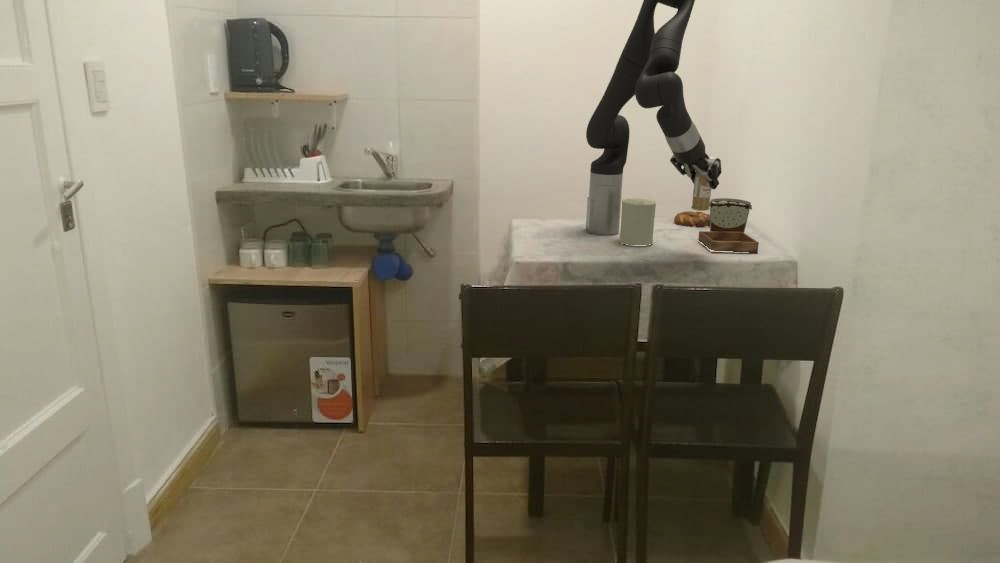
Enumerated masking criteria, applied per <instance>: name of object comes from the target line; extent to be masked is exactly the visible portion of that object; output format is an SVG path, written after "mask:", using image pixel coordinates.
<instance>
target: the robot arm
mask: <svg viewBox="0 0 1000 563" xmlns="http://www.w3.org/2000/svg"><path fill="white" fill-rule="evenodd" d="M695 1H696V0H642V4H641V7H640V10H639V13H638V15H637V18H636V21H635V22H634V24H633V27H632V30H631V32H630V33H629V36H628V39H627V40H626V43H625V44H624V47H623V49H622V52H621V54H620V56H619V58H618V61H617V62H616V63H617V64H616V66H615V68H614V71H613V74H612V76H611V78H610V80H609V82H608V84H607V87H606V89H605V91H604V93H603V95H602V97H601V99H600V101H599V103H598V104H597V106H596V108H595V109H594V111H593V113H592V115H591V117H590V119H589V121H588V124H587V128H586V132H585V135H586V136H585V137H586V142H587V144H588V145H589V146H590V147H591V148H593V149H596V150H603V152H602V153H601V155H600V156H599V157H598V158H596V159H594V160H592V162H590V174H589V190H588V196H587V198H586V199H587V200H586V201H587V202H586V220H585V230H586V231H587V233H588V234H594V235H605V236H606V235H608V236H609V235H616V234H619V233H620V223H621V209H622V191H623V178H624V177H623V176H624V167H625V166H626V163H627V159H628V151H629V150H628V149H629V142H630V124H629V122H628V119H627V118H626V117H625V116H623V115H620V112H621V111H622V109H623V107H624V106H625V105H626V104H627V103H628V102H629V101H630V100H631V99H633V97H635V100H636V102H637V103H638V105H639V106H640V107H641V108H643V109H652V108H659V109H658V111H657V112H656V115H655V116H656V121H657V123H658V125H659V127H660V129H661V131H662V133H663V134H664V137H665V141H666V142H667V145H668V147H669V149H670V151H671V153H672V156H671V157H670V160H669V162H670V163H671V164H672V166H674V168H675V169H676V170H677V171H678V173H679V174H681V175H682V176H685V175H686V176H687V178H690V181H691V182H692V184H694V181H695V174H696V170H697V171H698V172H699V173H700V174H701V175H702V176H705V177H706V178H707V180H708V182H709V184H710V186H711V190H716V189H717V188H718V186H719V185H720V181H719V177H720V176H721V174H722V160H721V159H720V158H715V160H712V159H710V158H709V157H710V156H709V155H708V154H707V153H706V145H705V143H704V141H703V138H702V136H701V134H700V132H699V130H698V128H697V126H696V124H695V123H694V121H693V120H692V117H691V116H690V114H689V112H688V110H687V107H686V102H685V98H684V85H683V80H682V77H681V76H679V74H678V73H676V72H677V70H678V69H679V65H680V60H681V55H682V54H681V52H682V47H683V41H684V37H685V33H686V31H687V27H688V24H689V21H690V18H691V14H692V11H693V8H694V4H695ZM658 4H660V5H664V6H666V7H670V8H672V9H677V11H676V13H675V14H674V15H673V17H671V18H670V19H669V20H668V21H666V22H665V23H664V24H663V25H662V26H660V27H659V29H657V30H656V32H655V11H656V7H657V5H658ZM682 167H683V168H682ZM708 172H710V174H708Z"/></svg>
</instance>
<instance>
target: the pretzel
mask: <svg viewBox="0 0 1000 563" xmlns="http://www.w3.org/2000/svg"><path fill="white" fill-rule="evenodd" d="M673 222H674V224H675V225H677V226H685V227H688V226H689V227H688V228H694V227H693V226H696V228H705V227H704V226H708V227H710V213H709V214H708V213H706V212H704V211H683V212H678V213H676V215H675V217H674V218H673Z"/></svg>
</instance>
